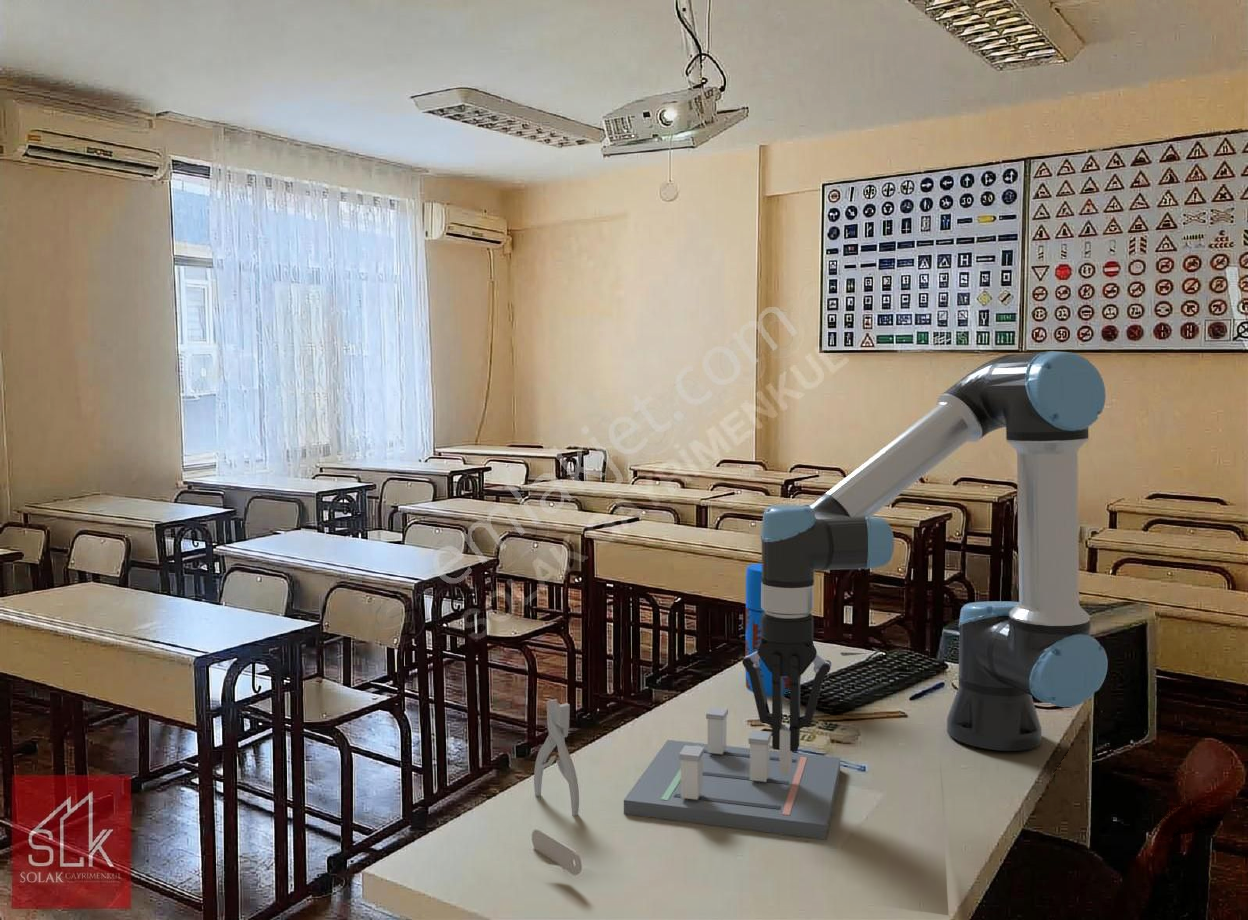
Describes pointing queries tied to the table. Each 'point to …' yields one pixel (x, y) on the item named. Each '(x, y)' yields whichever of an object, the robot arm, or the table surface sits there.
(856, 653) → the usb drive
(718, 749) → the block
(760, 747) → the block
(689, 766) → the block
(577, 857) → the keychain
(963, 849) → the table surface
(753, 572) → the thermos
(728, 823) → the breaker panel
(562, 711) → the pliers
